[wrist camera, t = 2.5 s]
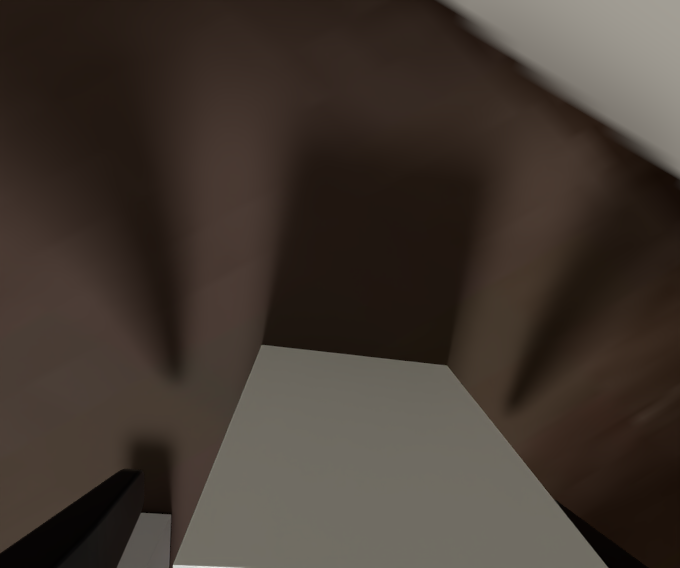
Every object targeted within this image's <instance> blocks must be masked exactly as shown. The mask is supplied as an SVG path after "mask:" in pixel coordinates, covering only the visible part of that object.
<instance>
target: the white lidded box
mask: <svg viewBox="0 0 680 568" xmlns="http://www.w3.org/2000/svg"><path fill="white" fill-rule="evenodd" d="M173 568H608V567H607V566H606V564H605V563H604V562H603V561H602V559H601V558H600V557H599V556H598V554H597V553H596V552H595V551H594V549H593V548H592V547H591V546H590V544H589V543H588V542H587V541H586V539H585V538H584V537H583V536H582V534H581V533H580V532H579V531H578V529H577V528H576V527H575V525H574V524H573V523H572V522H571V520H570V519H569V518H568V517H567V515H566V514H565V513H564V512H563V510H562V509H561V508H560V507H559V505H558V504H557V503H556V502H555V500H554V499H553V498H552V497H551V495H550V494H549V493H548V492H547V490H546V489H545V488H544V487H543V485H542V484H541V483H540V482H539V480H538V479H537V478H536V477H535V475H534V474H533V473H532V472H531V470H530V469H529V468H528V467H527V465H526V464H525V463H524V462H523V460H522V459H521V458H520V457H519V455H518V454H517V453H516V452H515V450H514V449H513V448H512V447H511V445H510V444H509V443H508V441H507V440H506V439H505V438H504V436H503V435H502V434H501V433H500V431H499V430H498V429H497V428H496V426H495V425H494V424H493V423H492V421H491V420H490V419H489V418H488V416H487V415H486V414H485V413H484V411H483V410H482V409H481V408H480V406H479V405H478V404H477V403H476V401H475V400H474V399H473V398H472V396H471V395H470V394H469V393H468V391H467V390H466V389H465V388H464V386H463V385H462V384H461V383H460V381H459V380H458V379H457V378H456V376H455V375H454V374H453V373H452V371H451V370H450V369H449V368H448V366H447V365H438V364H429V363H420V362H411V361H402V360H393V359H384V358H375V357H366V356H357V355H348V354H339V353H331V352H322V351H313V350H304V349H295V348H286V347H277V346H268V345H261V348H260V350H259V353H258V355H257V358H256V360H255V363H254V365H253V368H252V370H251V373H250V375H249V378H248V380H247V383H246V385H245V387H244V390H243V392H242V395H241V397H240V400H239V402H238V405H237V407H236V410H235V412H234V415H233V417H232V420H231V422H230V425H229V427H228V430H227V432H226V435H225V437H224V440H223V442H222V445H221V447H220V450H219V452H218V454H217V457H216V459H215V462H214V464H213V467H212V469H211V472H210V474H209V477H208V479H207V482H206V484H205V487H204V489H203V492H202V494H201V497H200V499H199V502H198V504H197V507H196V509H195V512H194V514H193V516H192V519H191V521H190V524H189V526H188V529H187V531H186V534H185V536H184V539H183V541H182V544H181V546H180V549H179V551H178V554H177V556H176V559H175V561H174V564H173Z"/></svg>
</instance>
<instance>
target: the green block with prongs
mask: <svg viewBox="0 0 680 568" xmlns="http://www.w3.org/2000/svg"><path fill="white" fill-rule="evenodd" d="M170 534H171V514H153V513H141V514H140V516H139V518H138V521H137V523H136V525H135V528H134V530H133V532H132V534H131V537H130V539H129V541H128V543H127V546H126V548H125V550H124V552H123V555H122V557H121V559H120V562H119V564H118V566H117V568H169V561H170Z"/></svg>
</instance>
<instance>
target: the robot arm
mask: <svg viewBox="0 0 680 568" xmlns="http://www.w3.org/2000/svg"><path fill="white" fill-rule="evenodd" d="M555 502H556V503H557V504H558V505H559V507H560V508H561V509H562V510H563V512H564V513H565V514H566V515H567V517H568V518H569V519H570V520H571V522H572V523H573V524H574V525H575V527H576V528H577V529H578V531H579V532H580V533H581V534H582V536H583V537H584V538H585V539H586V541H587V542H588V543H589V544H590V546H591V547H592V548H593V549H594V551H595V552H596V553H597V554H598V556H599V557H600V558H601V559H602V561H603V562H604V563H605V564H606V566H607V567H608V568H648V567H647V566H645V565H644V564H642V563H641V562H640V561H638V560H637V559H636V558H634V557H633V556H631V555H630V554H629V553H627V552H626V551H625V550H623V549H622V548H621V547H619V546H618V545H616V544H615V543H614V542H612V541H611V540H610V539H608V538H607V537H605V536H604V535H603V534H601V533H600V532H599V531H597V530H596V529H595V528H593V527H592V526H590V525H589V524H588V523H586V522H585V521H584V520H582V519H581V518H580V517H578V516H577V515H575V514H574V513H573V512H571V511H570V510H569V509H567V508H566V507H564V506H563V505H562V504H560V503H559V502H558V501H556V500H555ZM143 504H144V472H143V471H142V470H136V469H122V470H120V471H118V472H117V473H116V474H114V475H113V476H111V477H110V478H108V479H107V480H105V481H104V482H103V483H101V484H100V485H98V486H97V487H95V488H94V489H92V490H91V491H90V492H88V493H87V494H85V495H84V496H82V497H81V498H79V499H78V500H77V501H75V502H74V503H72V504H71V505H69V506H68V507H66V508H65V509H64V510H62V511H61V512H59V513H58V514H56V515H55V516H53V517H52V518H51V519H49V520H48V521H46V522H45V523H43V524H42V525H40V526H39V527H38V528H36V529H35V530H33V531H32V532H30V533H29V534H27V535H26V536H25V537H23V538H22V539H20V540H19V541H17V542H16V543H14V544H13V545H12V546H10V547H9V548H7V549H6V550H4V551H3V552H1V553H0V568H117V566H118V564H119V562H120V559H121V557H122V555H123V552H124V550H125V548H126V546H127V543H128V541H129V539H130V537H131V534H132V532H133V530H134V528H135V525H136V523H137V521H138V518H139V516H140V514H141V511H142V508H143Z"/></svg>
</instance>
